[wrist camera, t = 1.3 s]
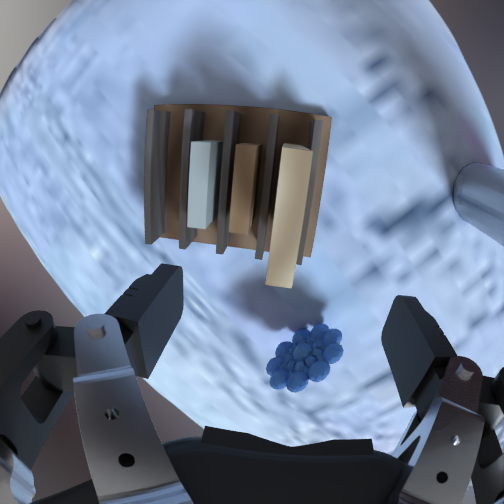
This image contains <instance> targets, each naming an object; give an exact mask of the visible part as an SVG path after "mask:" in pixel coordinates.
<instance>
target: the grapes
mask: <svg viewBox="0 0 504 504" xmlns="http://www.w3.org/2000/svg"><path fill="white" fill-rule="evenodd" d="M341 339H342V333H341V331H339V330H338V329H330V330H329V327H328V326H327V325H325V324H317V325H315V326H314V327H313V329H312V330H311V332H310V331H309V330H307V329H299V330H297V331H296V332H295V334H294V336H293V339H292V342H293V343H291V342H287V341H286V342H282V343H280V344H279V345H278V347H277V349H276V352H275V354H276V357H275V358H272V359H271V360H270V361H269V362H268V364H267V367H266V370H267V373H268V374H269V375H270V376H271V378H270V385H271V387H273V388H274V389H283V388H284V387H286V386H287V389H288V390H290V391H291V392H299V391H301V390H303V389H304V388H305V387H306V385H307V384H308V380H309V379H310V380H312V381H313V382H319V381H322V380H323V379H325V378H326V377H327V375H328V374H329V371H330V365H329V363H330V364H333V363H336V362H337V361H338V360H339V359H340V358H341V356H342V354H343V348H342V346H341V345H340V344H339V343H340V341H341Z"/></svg>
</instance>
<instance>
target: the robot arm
mask: <svg viewBox="0 0 504 504" xmlns="http://www.w3.org/2000/svg"><path fill="white" fill-rule="evenodd" d="M454 204H455V208H456V210H457V212H458V214H459V216H460V217H461V218H462V219H463V220H465V221H466V222H468V223H469V224H471V225H473V226H474V227H476V228H477V229H479V230H480V231H482V232H483V233H485V234H486V235H488V236H489V237H491V238H492V239H494V240H495V241H497V242H498V243H500V244H501V245H502V246H504V170H503V169H500V168H496V167H493V166H489V165H485V164H481V163H471V164H469V165H467V166H466V167H464V168H463V169H462V171H461V172H460V173H459V175H458V177H457V179H456V182H455V186H454ZM182 312H183V270H182V267H181V266H175V265H169V264H160V265H159V267H158V268H157V269H156V270H155V271H154V272H153V273H152V274H151V275H149V274H146V275H144V276H142V277H140V278H138V279H136V280H135V281H134V282H133V283H132V284H131V285H130V286H129V289H127V290H126V291H125V292H124V293H123V295H121V296H120V297H119V298H118V299H117V301H116V302H115V303H114V304H113V305H112V306H111V307H110V308H109V309H108V311H107V312H106V313H105V314H93V315H89V316H86V317H84V318H83V319H81V320H80V321H79V322H78V323H77V324H76V326H75V327H62V326H55V323H54V320H53V317H52V315H51V314H50V313H48V312H46V311H40V310H39V311H32V312H29V313H27V314H25V315H23V316H22V317H21V318H20V319H19V320H18V321H17V322H16V323H15V324H14V325H13V326H12V327H11V328H10V329H9V330H8V331H7V332H6V333H5V334H4V335H3V336H2V337H1V338H0V504H462V501H463V498H464V496H465V493H466V490H467V487H468V484H469V481H470V478H471V479H472V484H473V488H474V493H475V499H476V504H504V453H502V450H501V447H500V444H499V441H498V439H497V436H496V433H495V431H494V429H495V427H496V426H497V425H498V424H499V423H500V422H501V421H502V420H503V418H504V367H503V368H502V369H501V370H500V371H499V373H498V374H497V376H496V377H495V378H492V377H487V376H483V374H482V371H481V369H480V367H479V366H478V365H477V364H476V363H475V362H474V361H472V360H471V359H469V358H466V357H463V356H457V354H456V353H455V351H454V349H453V347H452V346H451V344H450V342H449V341H448V339H447V338H446V336H445V335H444V333H443V331H442V330H441V328H439V327H440V326H439V325H438V323H437V322H436V320H435V319H434V317H432V316H431V315H430V314H429V313H428V312H427V311H425V310H424V308H423V307H422V305H421V304H420V302H419V301H418V299H417V298H416V297H412V296H402V295H398V296H396V297H395V299H394V301H393V304H392V307H391V309H390V312H389V315H388V317H387V320H386V322H385V325H384V327H383V331H382V337H381V340H382V345H383V348H384V351H385V354H386V357H387V359H388V362H389V365H390V368H391V371H392V374H393V377H394V380H395V383H396V386H397V389H398V392H399V396H400V399H401V402H402V405H403V408H407V407H416V409H417V411H416V412H415V413H414V415H413V416H412V418H411V420H410V422H409V424H408V426H407V428H406V430H405V432H404V434H403V436H402V438H401V439H400V441H399V443H398V445H397V447H396V448H395V450H394V452H393V453H392V455H389V454H386V453H384V452H380V451H376V450H373V444H372V439H350V440H330V441H325V442H320V443H314V444H309V445H303V446H296V447H290V446H285V445H282V444H279V443H276V442H272V441H269V440H266V439H263V438H260V437H257V436H254V435H251V434H249V433H243V432H237V431H230V430H225V429H219V428H214V427H209V426H205V428H204V432H203V435H202V437H187V438H181V439H176V440H172V441H169V442H165V443H163V444H162V443H161V441H160V438H159V436H158V434H157V431H156V429H155V426H154V424H153V422H152V419H151V417H150V414H149V412H148V409H147V407H146V404H145V401H144V399H143V396H142V393H141V390H140V388H139V385H138V382H137V379H136V376H139V377H143V378H146V379H148V378H149V376H150V375H151V373H152V371H153V369H154V367H155V365H156V363H157V361H158V359H159V357H160V356H161V354H162V352H163V350H164V348H165V346H166V344H167V342H168V341H169V339H170V337H171V335H172V333H173V331H174V329H175V328H176V326H177V324H178V322H179V320H180V318H181V315H182ZM33 369H34V371H35V373H36V375H37V376H36V377H35V378H34V380H33V381H32V383H31V384H30V385H29V387H28V388H27V389H26V391H25V392H24V394H23V395H22V397H21V396H20V388H21V385H22V383H23V382H24V381H25V379H26V378H27V377H28V375H29V374H30V373H31V371H32V370H33ZM73 392H74V395H75V402H76V408H77V415H78V421H79V426H80V431H81V436H82V441H83V445H84V450H85V454H86V458H87V462H88V466H89V470H90V473H91V477H92V479H90V480H88V481H86V482H84V483H81V484H79V485H77V486H74V487H72V488H69V489H67V490H64V491H62V492H59V493H56V494H54V495H51V496H48V497H45V498H43V499H40V500H37V501H34V502H32V497H34V495H35V488H34V479H33V475H32V473H31V471H30V470H31V468H32V466H33V464H34V462H35V460H36V459H37V457H38V455H39V453H40V451H41V449H42V447H43V445H44V443H45V441H46V439H47V438H48V436H49V434H50V432H51V430H52V429H53V427H54V425H55V423H56V421H57V420H58V418H59V416H60V415H61V413H62V411H63V409H64V408H65V406H66V404H67V403H68V401H69V399H70V397H71V396H72V394H73Z"/></svg>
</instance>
